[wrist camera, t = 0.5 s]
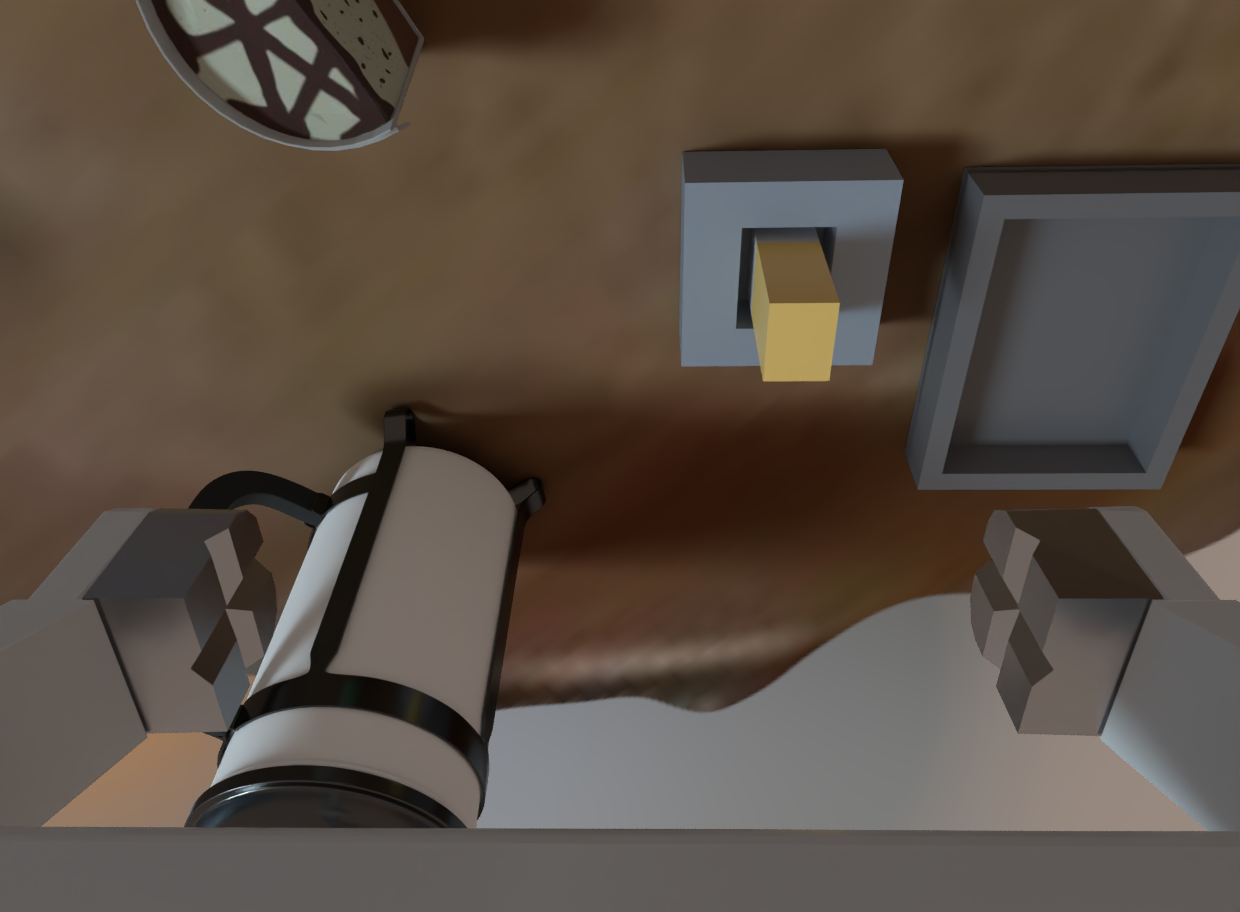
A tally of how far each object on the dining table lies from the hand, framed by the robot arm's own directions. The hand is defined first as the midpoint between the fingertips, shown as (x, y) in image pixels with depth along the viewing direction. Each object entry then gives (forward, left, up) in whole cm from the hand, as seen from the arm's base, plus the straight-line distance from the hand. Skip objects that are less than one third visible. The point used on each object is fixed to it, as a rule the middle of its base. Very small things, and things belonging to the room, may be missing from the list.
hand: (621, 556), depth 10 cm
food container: (+1, -15, -38) cm, 41 cm away
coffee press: (+31, -15, -38) cm, 52 cm away
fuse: (+14, +7, -37) cm, 40 cm away
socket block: (+14, +7, -38) cm, 41 cm away
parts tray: (+19, +23, -38) cm, 48 cm away
